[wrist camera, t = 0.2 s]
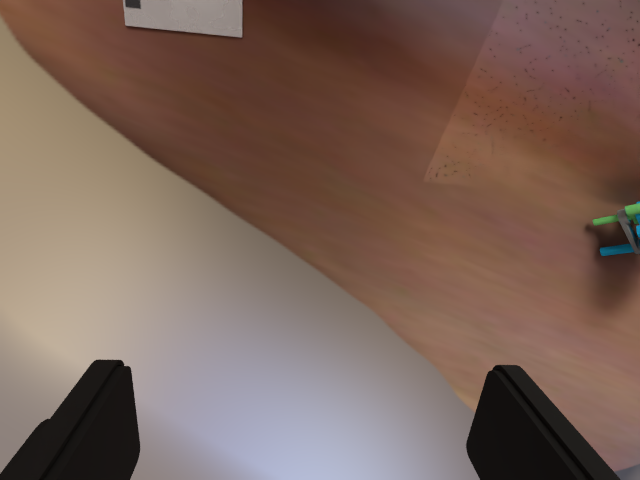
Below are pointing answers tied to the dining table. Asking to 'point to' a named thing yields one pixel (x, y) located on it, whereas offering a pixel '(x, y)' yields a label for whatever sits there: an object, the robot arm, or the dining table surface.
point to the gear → (624, 216)
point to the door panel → (187, 15)
